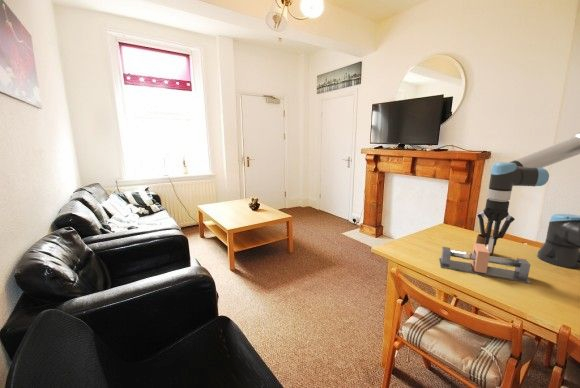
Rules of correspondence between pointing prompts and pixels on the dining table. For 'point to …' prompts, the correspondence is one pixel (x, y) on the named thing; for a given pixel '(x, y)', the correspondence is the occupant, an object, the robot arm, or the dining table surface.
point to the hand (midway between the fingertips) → (488, 251)
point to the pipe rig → (518, 275)
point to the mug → (483, 242)
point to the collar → (480, 258)
